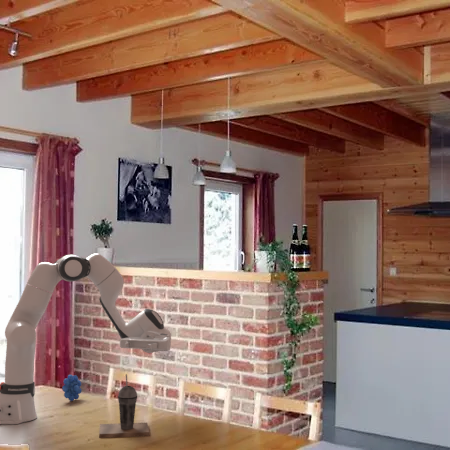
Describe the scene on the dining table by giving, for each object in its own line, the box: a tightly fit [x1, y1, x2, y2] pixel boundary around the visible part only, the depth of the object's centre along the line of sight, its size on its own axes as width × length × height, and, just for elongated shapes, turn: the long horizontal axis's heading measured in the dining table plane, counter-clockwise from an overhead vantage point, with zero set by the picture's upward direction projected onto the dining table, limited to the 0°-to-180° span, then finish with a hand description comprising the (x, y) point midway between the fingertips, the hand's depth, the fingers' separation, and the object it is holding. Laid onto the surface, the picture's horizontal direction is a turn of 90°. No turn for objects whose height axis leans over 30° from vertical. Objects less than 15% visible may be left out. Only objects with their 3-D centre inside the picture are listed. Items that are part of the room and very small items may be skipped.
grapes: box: [61, 374, 83, 402], centre depth 299 cm, size 12×7×12 cm, turn 150°
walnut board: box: [98, 422, 150, 438], centre depth 250 cm, size 18×14×1 cm
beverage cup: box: [117, 373, 138, 430], centre depth 250 cm, size 7×7×20 cm
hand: (137, 346), depth 263 cm, fingers open, 8 cm apart
